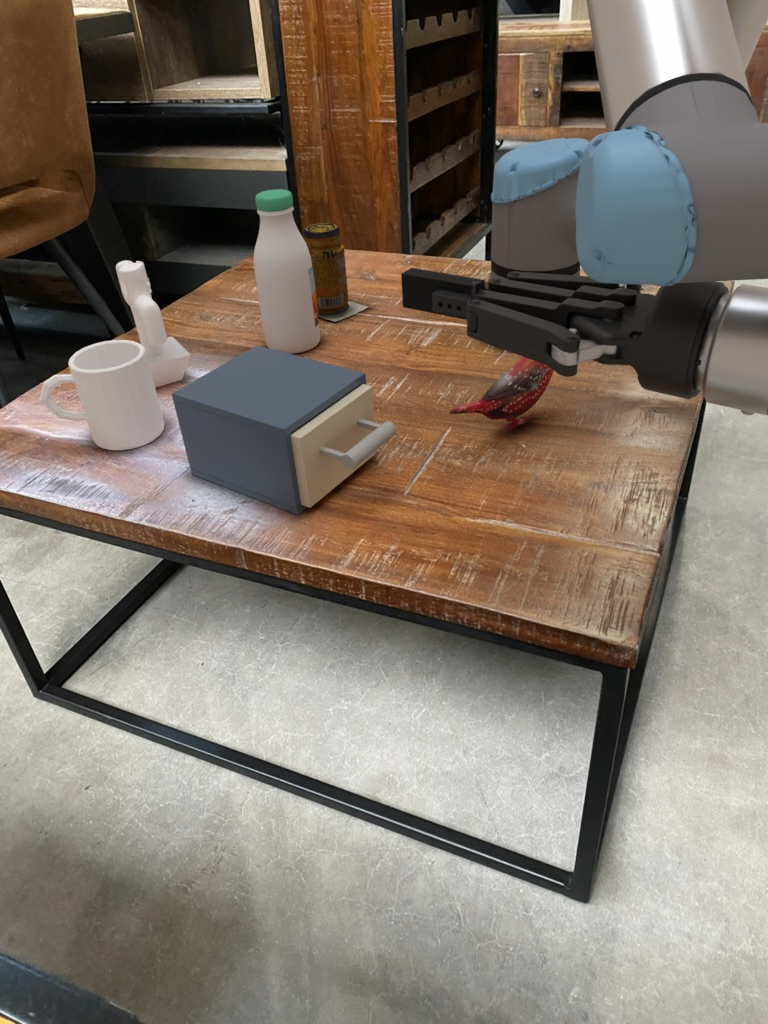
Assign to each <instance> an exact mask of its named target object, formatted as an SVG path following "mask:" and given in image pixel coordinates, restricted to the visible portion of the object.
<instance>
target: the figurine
mask: <svg viewBox="0 0 768 1024" xmlns="http://www.w3.org/2000/svg"><path fill="white" fill-rule="evenodd" d="M115 271H116V275H117V279H118V283H119V286H120V290H121V294H122V296H123V299H124V301H125V302H126V303H127V305H128V306H129V307H130V310H131V313H132V316H133V320H134V324H135V328H136V331H137V335H138V339H139V342H140V343H139V344H141V345H142V346H143V347H144V348H145V351H146V355H147V359H148V363H149V366H150V370H151V374H152V378H153V382H154V385H155V389H156V388H159V387H163V386H165V385H169V384H173V383H177V382H180V381H182V380H183V378H184V375H185V371H186V369H187V366H188V363H189V360H190V357H191V354H190V352H189V351H188V350H187V349H186V348H185V347H184V346H183V345H181V344H180V342H179V341H177V339H175V337H174V336H168V335H167V330H166V328H165V327H166V326H165V323H164V319H163V315H162V312H161V308H160V306H159V305H158V304H157V302H156V301H154V300H153V298H152V294H153V291H152V288H151V282H150V279H149V277H148V274H147V270H146V267H145V263H144V262H143V261H141V260H136V261H135V262H133V261H132V260H127V259H125V260H121V261H119V262H117V263H116V265H115Z"/></svg>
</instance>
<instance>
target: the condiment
mask: <svg viewBox="0 0 768 1024" xmlns="http://www.w3.org/2000/svg"><path fill="white" fill-rule="evenodd" d="M302 234H303V239H304V241H305V243H306V245H307V247H308V250H309V253H310V257H311V261H312V268H313V275H314V283H315V291H316V300H317V308H318V317H319V318H320V319H323V320H327V321H332V322H338V321H341V320H345V319H346V318H349V317H351V316H353V315H357V314H358V313H360V312H362V311H363V312H364V311H365V310H366V309H368V308H369V306H367V305H364V304H362V303H357V302H355V301H350V300H349V290H348V289H349V288H348V278H347V277H348V276H347V267H346V255H345V246H344V245H343V244H342V237H341V228H340V226H338V225H337V224H335V223H329V222H322V223H313V224H310V225H308V226H306V227H304V229H303V232H302Z"/></svg>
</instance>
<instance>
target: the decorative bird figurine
mask: <svg viewBox="0 0 768 1024" xmlns="http://www.w3.org/2000/svg"><path fill="white" fill-rule="evenodd" d="M553 373H554V370H553V369H551V368H550V367H548V366H547V365H546V364H543V363H540V362H537V361H534V360H532V359H529V358H526V357H523V356H521V358H520V359H519V360H518V361H517V362H516V363H515V364H514V365H513V366H512V367H510V368H509V369H508V370H506V371H505V372H504V373H503V374H502V375H501V376H500V377H499V378H498V379H497V380H496V381H495V382H494V383H493V384H492V385H491V386H490V387H489V388H488V389H487V391H486V392H485V393H484V394H483V396H482V397H481V398H480V399H479V400H477V401H474V402H470V403H468V404H465V405H462V406H459V407H456V408H454V409H452V410H450V411H449V414H451V415H460V414H461V415H462V414H473V413H475V414H480V415H483V416H484V417H486V418H487V419H489V420H493V421H497V420H506V421H507V422H510V423H509V424H508V425H507V426H506V427H505V429H504V431H503V432H504V433H505V432H506V431H507V430H508V431H510V430H512V429H514V428H516V427H518V426H520V425H524V424H525V423H526V422H527V421H529V420H528V419H530V418H531V417H532V416H534V415H535V414H536V413H535V412H533V413H531V414H529V415H528V416H523V415H524V414H525V413H527V412H528V411H529V410H530V409H532V408H533V407H534V406H535V405H536V404H537V403H538V401H539V400H540V399H541V398H542V396H543V395H544V393H545V392H546V389H547V388H548V386H549V384H550V382H551V379H552V377H553ZM520 416H521V417H520ZM519 417H520V418H519Z"/></svg>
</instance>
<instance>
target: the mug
mask: <svg viewBox="0 0 768 1024" xmlns="http://www.w3.org/2000/svg"><path fill="white" fill-rule="evenodd" d="M67 363H68V364H67V365H68V368H69V371H70V373H69V374H65V373H63V374H53V375H52V376H51V377H50V378H48V379H46V380H45V381H43V383H42V388H41V391H40V395H39V401H40V402H41V403H42V404H43V405H44V406H45V407H46V408H47V409H48V410H49V411H50V412H51V413H52V414H54V415H55V416H56V417H57V418H58V419H63V420H68V421H73V422H74V421H75V422H82V421H86V423H87V425H88V428H89V431H90V434H91V437H92V440H93V442H94V444H95V446H97V447H99V448H101V449H104V450H109V451H126V450H132V449H136V448H139V447H143V446H145V445H147V444H149V443H151V442H154V441H156V439H157V438H159V437H160V436H161V435H162V433H163V432H164V430H165V420H164V416H163V413H162V408H161V405H160V400H159V398H158V393H157V390H156V388H155V385H154V382H153V378H152V374H151V370H150V366H149V363H148V359H147V355H146V351H145V348H144V347H143V346H142V345H141V343H139V342H136V341H135V340H128V339H111V340H104V341H100V342H96V343H92V344H90V345H86V346H84V347H82V348H80V349H79V350H77V351H76V352H74V354H72V355H71V356H70V358H69V359H68V362H67ZM62 384H74V385H75V390H76V391H77V392H76V393H77V395H78V398H79V401H80V405H81V407H82V410H83V411H72V410H68V409H63V408H62V407H61V406H60V405H59V404H58V403H56V402H55V400H53V399H52V396H53V391H54V389H55V388H57V387H59V386H61V385H62Z"/></svg>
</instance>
